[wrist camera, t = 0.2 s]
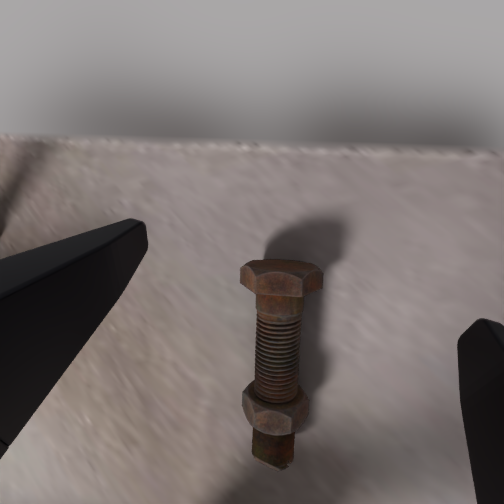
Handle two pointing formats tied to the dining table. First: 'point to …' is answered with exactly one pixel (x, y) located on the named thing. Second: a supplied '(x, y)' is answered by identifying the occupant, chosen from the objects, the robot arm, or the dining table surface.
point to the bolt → (277, 356)
